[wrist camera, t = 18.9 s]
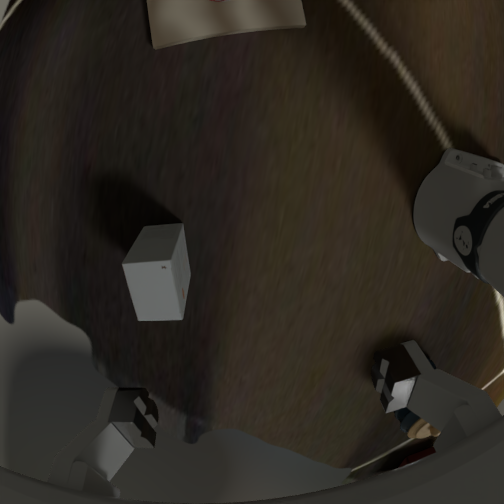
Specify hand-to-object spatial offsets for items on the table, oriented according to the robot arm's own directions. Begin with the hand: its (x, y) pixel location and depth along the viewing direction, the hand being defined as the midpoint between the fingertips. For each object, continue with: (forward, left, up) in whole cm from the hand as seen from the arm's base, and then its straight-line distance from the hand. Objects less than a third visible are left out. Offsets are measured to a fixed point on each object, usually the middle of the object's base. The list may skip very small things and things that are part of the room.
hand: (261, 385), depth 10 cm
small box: (+11, +8, -31) cm, 34 cm away
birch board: (-2, -26, -31) cm, 41 cm away
